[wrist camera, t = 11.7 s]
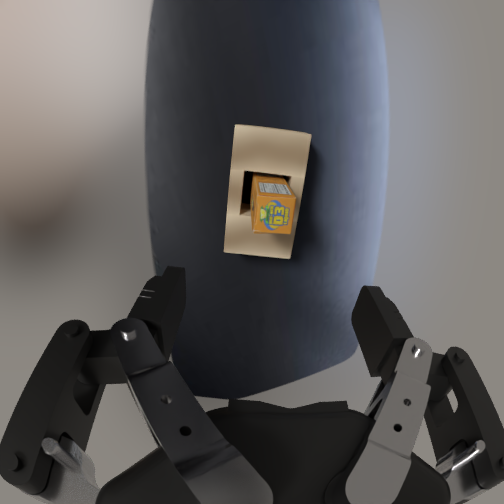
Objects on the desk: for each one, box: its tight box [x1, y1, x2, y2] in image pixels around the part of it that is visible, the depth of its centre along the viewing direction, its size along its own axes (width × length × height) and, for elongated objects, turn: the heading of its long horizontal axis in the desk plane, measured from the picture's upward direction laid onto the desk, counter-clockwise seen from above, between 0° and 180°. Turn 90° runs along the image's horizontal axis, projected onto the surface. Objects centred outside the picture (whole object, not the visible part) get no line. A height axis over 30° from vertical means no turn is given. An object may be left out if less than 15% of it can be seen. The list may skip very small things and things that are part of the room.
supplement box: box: [250, 172, 296, 234], centre depth 26 cm, size 3×3×10 cm
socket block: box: [224, 124, 311, 259], centre depth 28 cm, size 13×7×4 cm, turn 174°
